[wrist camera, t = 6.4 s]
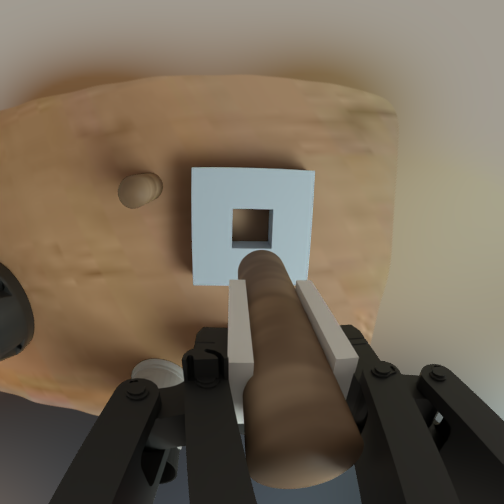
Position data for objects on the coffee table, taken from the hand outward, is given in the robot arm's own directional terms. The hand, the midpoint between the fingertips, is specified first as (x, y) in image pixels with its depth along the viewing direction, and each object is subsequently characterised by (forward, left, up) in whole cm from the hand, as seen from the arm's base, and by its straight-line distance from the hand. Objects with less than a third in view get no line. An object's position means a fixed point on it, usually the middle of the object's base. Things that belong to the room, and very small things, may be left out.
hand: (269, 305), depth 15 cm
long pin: (0, 0, -5) cm, 5 cm away
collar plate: (0, 0, -19) cm, 19 cm away
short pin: (-11, +4, -19) cm, 22 cm away
